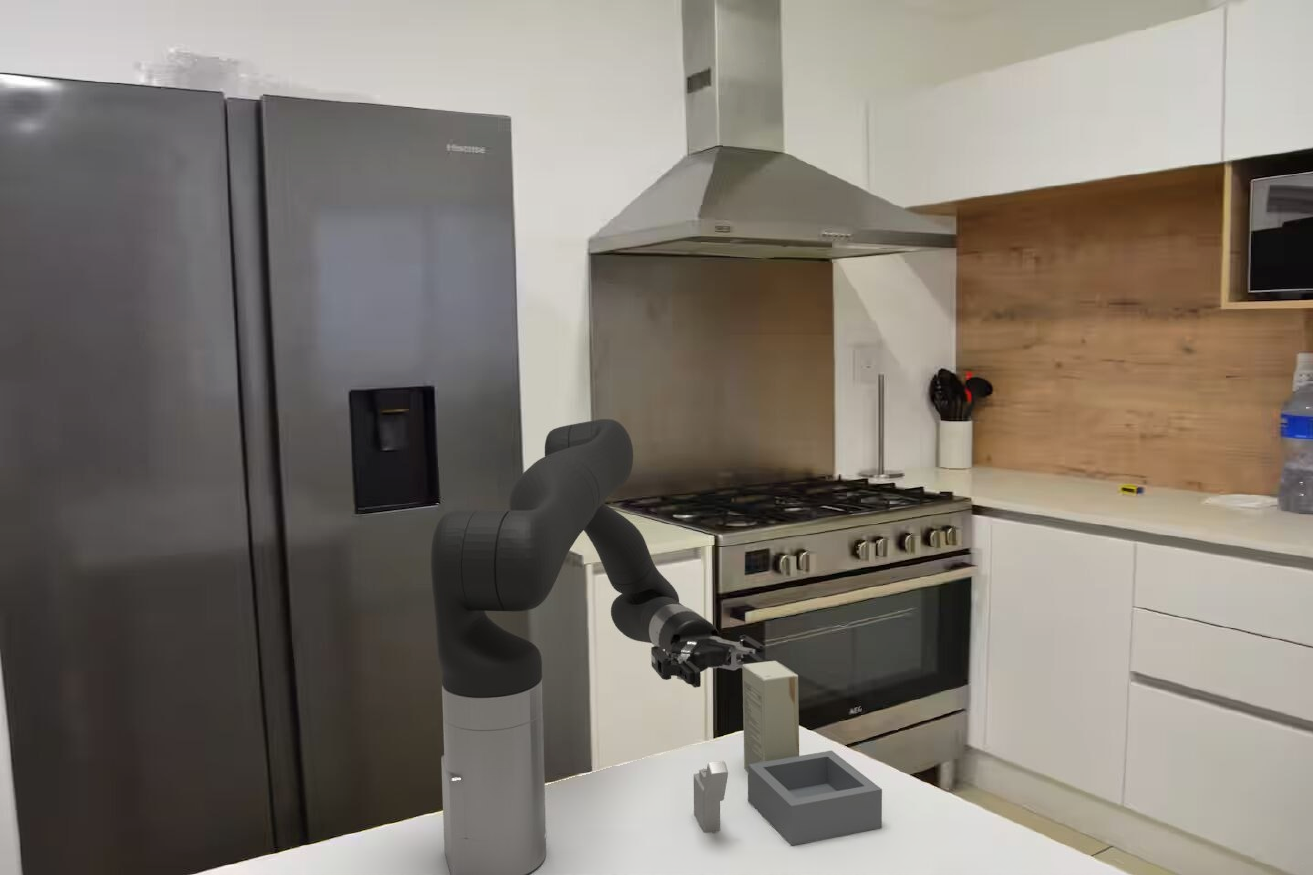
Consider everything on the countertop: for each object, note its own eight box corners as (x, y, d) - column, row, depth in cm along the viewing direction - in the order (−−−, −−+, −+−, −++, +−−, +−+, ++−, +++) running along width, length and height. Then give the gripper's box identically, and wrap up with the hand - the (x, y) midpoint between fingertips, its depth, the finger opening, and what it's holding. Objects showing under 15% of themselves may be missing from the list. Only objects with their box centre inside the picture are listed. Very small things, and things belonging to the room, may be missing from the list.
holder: (791, 845, 95) (791, 805, 94) (748, 800, 104) (747, 764, 104) (881, 827, 98) (881, 789, 98) (831, 785, 107) (831, 750, 107)
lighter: (693, 813, 102) (692, 738, 101) (709, 811, 102) (709, 737, 101) (711, 847, 95) (711, 767, 94) (729, 845, 95) (728, 765, 94)
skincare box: (801, 784, 108) (801, 676, 107) (764, 790, 107) (764, 680, 105) (776, 761, 114) (776, 658, 113) (741, 766, 113) (741, 662, 112)
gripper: (633, 616, 133) (675, 652, 118) (730, 605, 137) (783, 638, 122) (634, 670, 134) (676, 712, 118) (730, 657, 138) (783, 696, 123)
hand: (730, 675), depth 120 cm, fingers open, 8 cm apart
